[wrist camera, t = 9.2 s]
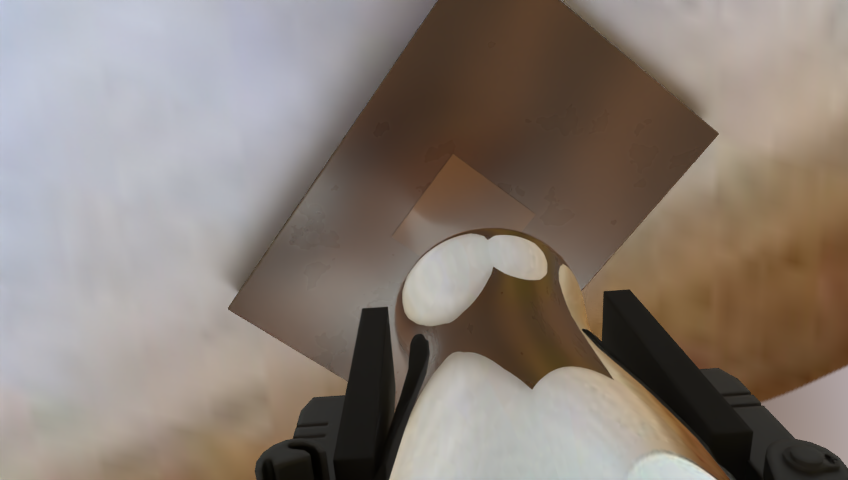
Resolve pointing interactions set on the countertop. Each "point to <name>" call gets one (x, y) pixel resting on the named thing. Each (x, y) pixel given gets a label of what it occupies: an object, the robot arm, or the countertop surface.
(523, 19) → the serving board
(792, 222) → the countertop surface
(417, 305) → the beer glass
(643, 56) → the countertop surface
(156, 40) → the countertop surface
